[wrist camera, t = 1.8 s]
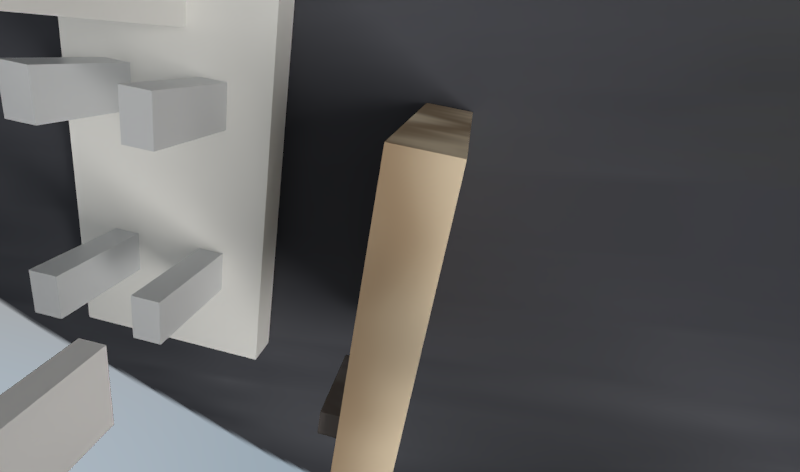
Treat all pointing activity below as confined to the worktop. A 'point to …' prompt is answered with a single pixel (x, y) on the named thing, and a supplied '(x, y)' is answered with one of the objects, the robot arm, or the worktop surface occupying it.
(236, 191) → the white holder stand
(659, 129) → the worktop surface
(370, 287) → the oak door
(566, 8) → the worktop surface
